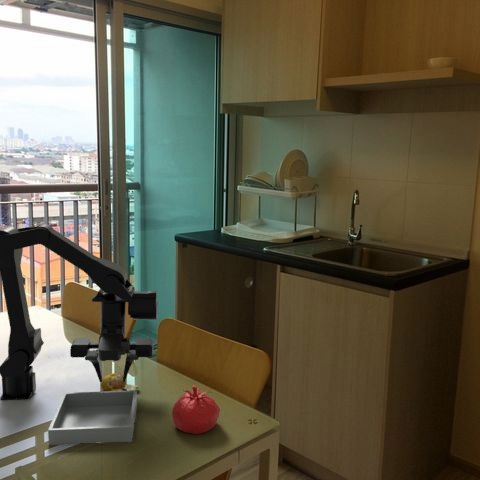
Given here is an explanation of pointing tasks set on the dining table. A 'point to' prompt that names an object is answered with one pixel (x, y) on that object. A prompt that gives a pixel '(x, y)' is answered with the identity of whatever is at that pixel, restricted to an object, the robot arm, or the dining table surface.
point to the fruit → (116, 383)
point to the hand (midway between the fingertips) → (112, 381)
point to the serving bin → (94, 418)
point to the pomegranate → (195, 412)
